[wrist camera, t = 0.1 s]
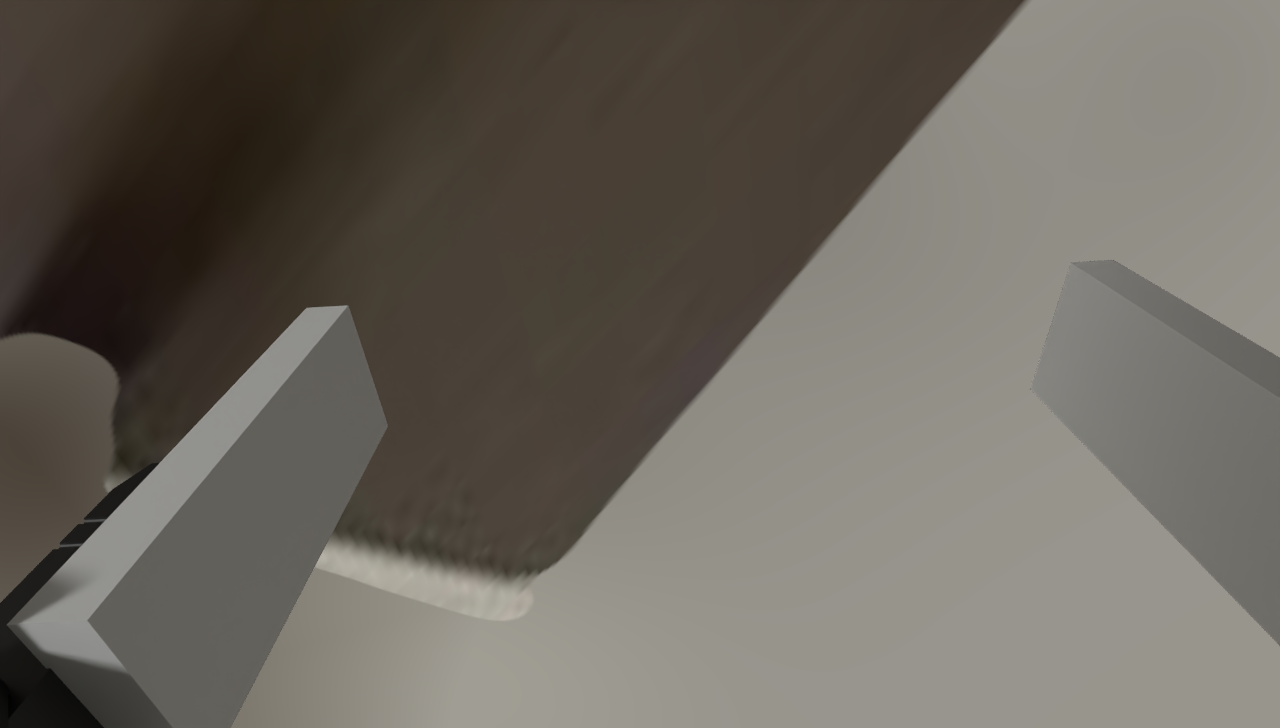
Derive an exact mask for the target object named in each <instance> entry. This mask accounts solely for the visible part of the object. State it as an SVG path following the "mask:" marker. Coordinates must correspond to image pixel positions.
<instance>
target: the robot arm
mask: <svg viewBox="0 0 1280 728" xmlns="http://www.w3.org/2000/svg"><path fill="white" fill-rule="evenodd" d="M1030 390H1031V391H1032V392H1033V393H1034V394H1035V395H1036V396H1037V397H1038V398H1039V399H1040V400H1041V401H1042V402H1043V403H1044V404H1045V405H1046V406H1047V407H1048V408H1049V409H1050V410H1051V411H1052V412H1053V413H1054V414H1055V415H1056V416H1057V417H1058V418H1059V419H1060V420H1061V421H1062V422H1063V423H1064V424H1065V426H1066V427H1067V428H1068V429H1069V430H1070V431H1071V432H1072V433H1074V435H1075V436H1076V437H1077V438H1078V439H1079V440H1080V441H1081V442H1082V443H1083V444H1084V445H1085V446H1086V447H1087V448H1088V449H1089V450H1090V451H1091V452H1092V453H1093V454H1094V455H1095V456H1096V457H1097V458H1098V459H1099V460H1100V462H1101V463H1102V464H1103V465H1104V466H1105V467H1106V468H1107V469H1108V470H1109V471H1110V472H1111V473H1112V474H1113V475H1114V476H1115V477H1116V478H1117V479H1118V480H1119V481H1120V482H1121V483H1122V484H1123V485H1124V486H1125V487H1126V488H1127V489H1128V490H1129V491H1130V492H1131V493H1132V494H1133V495H1134V496H1135V497H1136V498H1137V499H1138V501H1140V503H1141V504H1142V505H1143V506H1144V507H1145V508H1146V509H1147V510H1148V511H1149V512H1150V513H1151V514H1152V515H1153V516H1154V517H1155V518H1156V519H1157V520H1158V521H1159V522H1160V523H1161V524H1162V525H1163V526H1164V527H1165V528H1166V529H1167V530H1168V531H1169V532H1170V533H1171V534H1172V535H1173V536H1174V537H1175V538H1176V539H1177V541H1178V542H1179V543H1180V544H1181V545H1182V546H1183V547H1184V548H1185V549H1186V550H1187V551H1188V552H1189V553H1190V554H1191V555H1192V556H1193V557H1194V558H1195V559H1196V560H1197V561H1198V562H1199V563H1200V564H1201V565H1202V566H1203V567H1204V568H1205V569H1206V570H1207V571H1208V572H1209V573H1210V574H1211V575H1212V576H1213V577H1214V578H1215V580H1216V581H1217V582H1218V583H1219V584H1220V585H1221V586H1222V587H1223V588H1224V589H1225V590H1226V591H1227V592H1228V593H1229V594H1230V595H1231V596H1232V597H1233V598H1234V599H1235V600H1236V601H1237V602H1238V603H1239V604H1240V605H1241V606H1242V607H1243V608H1244V609H1245V610H1246V611H1247V612H1248V613H1249V614H1250V616H1251V617H1253V619H1254V620H1255V621H1256V622H1257V623H1258V624H1259V625H1260V626H1261V627H1262V628H1263V629H1264V630H1265V631H1266V632H1267V633H1268V634H1269V635H1270V636H1271V637H1272V638H1273V639H1274V640H1275V641H1276V642H1277V643H1278V644H1279V645H1280V358H1279V357H1278V356H1276V355H1274V354H1273V353H1271V352H1269V351H1268V350H1266V349H1264V348H1262V347H1261V346H1259V345H1257V344H1255V343H1254V342H1252V341H1250V340H1249V339H1247V338H1245V337H1243V336H1242V335H1240V334H1239V333H1237V332H1235V331H1233V330H1232V329H1230V328H1228V327H1226V326H1225V325H1223V324H1221V323H1220V322H1218V321H1216V320H1215V319H1213V318H1211V317H1210V316H1208V315H1206V314H1204V313H1203V312H1201V311H1199V310H1198V309H1196V308H1194V307H1192V306H1191V305H1189V304H1187V303H1186V302H1184V301H1182V300H1181V299H1179V298H1177V297H1175V296H1174V295H1172V294H1170V293H1169V292H1167V291H1165V290H1164V289H1162V288H1160V287H1159V286H1157V285H1155V284H1153V283H1152V282H1150V281H1148V280H1147V279H1145V278H1143V277H1141V276H1140V275H1138V274H1136V273H1135V272H1133V271H1131V270H1130V269H1128V268H1126V267H1125V266H1123V265H1121V264H1119V263H1118V262H1116V261H1114V260H1106V261H1089V262H1072V263H1071V264H1070V267H1069V270H1068V273H1067V276H1066V279H1065V282H1064V285H1063V289H1062V292H1061V295H1060V298H1059V301H1058V304H1057V307H1056V310H1055V313H1054V316H1053V320H1052V323H1051V326H1050V329H1049V332H1048V335H1047V338H1046V341H1045V345H1044V348H1043V351H1042V354H1041V357H1040V360H1039V363H1038V366H1037V370H1036V373H1035V376H1034V379H1033V382H1032V385H1031V388H1030ZM387 427H388V425H387V422H386V419H385V416H384V413H383V410H382V407H381V404H380V401H379V398H378V395H377V392H376V388H375V385H374V382H373V379H372V376H371V373H370V370H369V367H368V364H367V361H366V358H365V355H364V352H363V349H362V346H361V343H360V340H359V337H358V334H357V331H356V328H355V325H354V322H353V319H352V316H351V313H350V309H349V306H332V307H316V308H306V309H305V310H304V311H303V312H302V313H301V314H300V316H299V317H298V318H297V319H296V320H295V321H294V322H293V323H292V324H291V325H290V326H289V327H288V328H287V329H286V330H285V331H284V332H283V333H282V335H281V336H280V337H279V338H278V339H277V340H276V341H275V342H274V343H273V344H272V345H271V346H270V347H269V348H268V349H267V350H266V351H265V352H264V354H263V355H262V356H261V357H260V358H259V359H258V360H257V361H256V362H255V363H254V364H253V365H252V366H251V367H250V368H249V369H248V370H247V371H246V373H245V374H244V375H243V376H242V377H241V378H240V379H239V380H238V381H237V382H236V383H235V384H234V385H233V386H232V387H231V388H230V389H229V391H228V392H227V393H226V394H225V395H224V396H223V397H222V398H221V399H220V400H219V401H218V402H217V403H216V404H215V405H214V406H213V407H212V408H211V410H210V411H209V412H208V413H207V414H206V415H205V416H204V417H203V418H202V419H201V420H200V421H199V422H198V423H197V424H196V425H195V426H194V427H193V429H192V430H191V431H190V432H189V433H188V434H187V435H186V436H185V437H184V438H183V439H182V440H181V441H180V442H179V443H178V444H177V445H176V446H175V448H174V449H173V450H172V451H171V452H170V453H169V454H168V455H167V456H166V457H165V458H164V459H163V460H162V461H161V462H160V463H153V464H150V465H149V466H147V467H146V468H144V469H143V470H141V471H140V472H138V473H137V474H135V475H134V476H132V477H131V478H129V479H128V480H126V481H125V482H123V483H121V484H120V485H118V486H117V487H115V488H114V489H113V490H112V491H111V492H110V493H109V494H108V495H107V496H106V497H105V498H104V499H103V500H102V501H101V502H100V503H99V504H98V505H97V506H96V507H95V508H94V509H93V510H92V511H91V512H90V513H89V514H88V515H87V516H86V517H85V518H84V519H85V522H84V524H78V525H77V526H76V527H75V528H74V529H73V530H72V531H71V532H70V533H69V534H68V535H67V536H66V537H65V538H64V539H63V540H62V541H61V542H60V548H59V549H54V550H52V551H51V552H50V553H49V554H48V555H47V556H46V557H45V558H44V559H43V560H42V561H41V562H40V563H39V565H37V566H36V567H35V568H34V570H33V571H31V573H29V574H28V575H27V576H26V578H25V579H24V580H23V581H22V582H21V583H20V584H19V585H18V586H17V587H16V588H15V589H14V590H13V591H12V592H11V593H10V594H9V595H8V596H7V597H6V598H5V599H4V600H3V601H2V602H1V603H0V728H231V726H232V724H233V722H234V720H235V718H236V716H237V715H238V712H239V711H240V708H241V707H242V705H243V703H244V701H245V699H246V697H247V695H248V693H249V691H250V690H251V688H252V686H253V684H254V682H255V680H256V678H257V676H258V674H259V672H260V670H261V668H262V666H263V665H264V663H265V661H266V659H267V657H268V655H269V653H270V651H271V649H272V647H273V645H274V643H275V642H276V640H277V638H278V636H279V634H280V632H281V630H282V628H283V626H284V624H285V622H286V621H287V619H288V617H289V615H290V613H291V611H292V609H293V607H294V605H295V603H296V601H297V599H298V597H299V596H300V594H301V592H302V590H303V588H304V586H305V584H306V582H307V580H308V578H309V576H310V575H311V573H312V571H313V569H314V567H315V565H316V563H317V561H318V559H319V557H320V555H321V553H322V552H323V550H324V548H325V546H326V544H327V542H328V540H329V538H330V536H331V534H332V532H333V530H334V528H335V527H336V525H337V523H338V521H339V519H340V517H341V515H342V513H343V511H344V509H345V507H346V505H347V504H348V502H349V500H350V498H351V496H352V494H353V492H354V490H355V488H356V486H357V484H358V482H359V481H360V479H361V477H362V475H363V473H364V471H365V469H366V467H367V465H368V463H369V461H370V459H371V458H372V456H373V454H374V452H375V450H376V448H377V446H378V444H379V442H380V440H381V438H382V436H383V435H384V433H385V431H386V429H387Z"/></svg>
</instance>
